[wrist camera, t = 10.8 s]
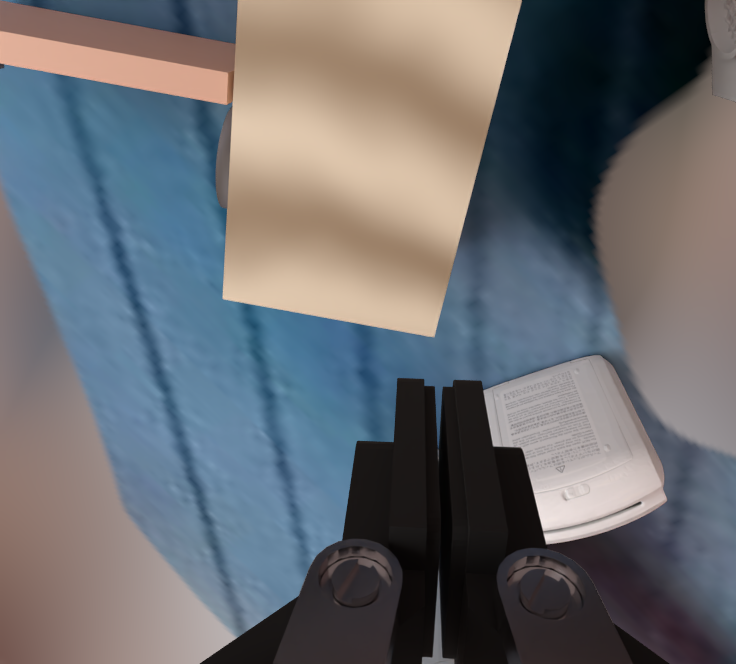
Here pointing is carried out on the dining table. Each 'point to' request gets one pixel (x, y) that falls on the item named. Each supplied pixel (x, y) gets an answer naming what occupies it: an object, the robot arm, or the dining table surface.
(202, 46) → the door
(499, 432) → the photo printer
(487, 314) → the dining table surface
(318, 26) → the wooden cabinet
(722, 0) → the garden wall model
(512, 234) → the dining table surface
